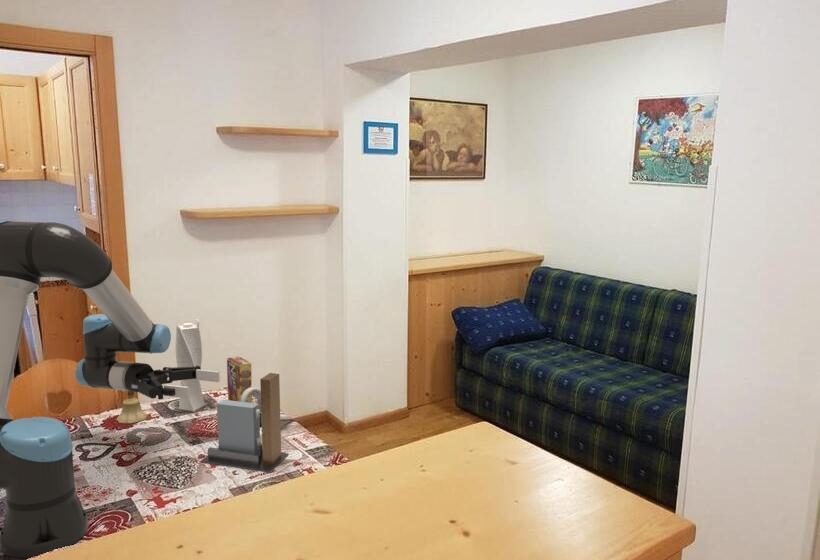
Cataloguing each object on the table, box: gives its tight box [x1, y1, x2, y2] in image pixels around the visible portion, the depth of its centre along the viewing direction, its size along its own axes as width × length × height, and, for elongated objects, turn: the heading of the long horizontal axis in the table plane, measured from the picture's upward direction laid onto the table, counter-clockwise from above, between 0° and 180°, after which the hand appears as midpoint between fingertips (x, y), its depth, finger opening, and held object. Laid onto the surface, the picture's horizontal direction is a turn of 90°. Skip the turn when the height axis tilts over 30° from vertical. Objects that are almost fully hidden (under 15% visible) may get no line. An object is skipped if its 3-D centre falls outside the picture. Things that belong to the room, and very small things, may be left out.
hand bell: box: [116, 391, 148, 424], centre depth 186 cm, size 8×8×16 cm
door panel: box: [216, 399, 262, 456], centre depth 161 cm, size 3×11×14 cm, turn 75°
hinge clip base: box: [200, 372, 289, 473], centre depth 160 cm, size 10×19×22 cm, turn 75°
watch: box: [240, 386, 262, 428], centre depth 183 cm, size 6×8×11 cm
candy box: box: [226, 356, 253, 403], centre depth 194 cm, size 9×4×15 cm, turn 39°
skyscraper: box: [174, 318, 209, 413], centre depth 193 cm, size 8×8×28 cm
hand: (204, 384), depth 163 cm, fingers open, 13 cm apart
